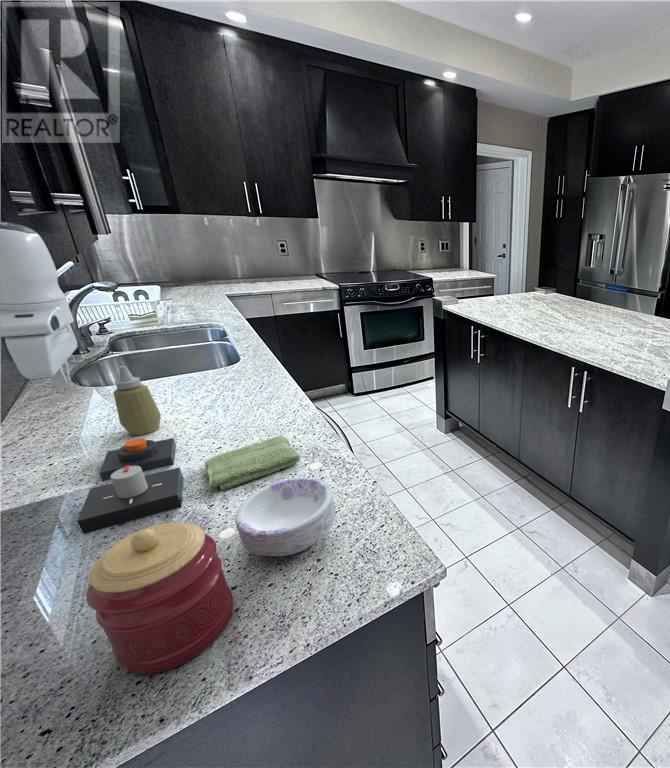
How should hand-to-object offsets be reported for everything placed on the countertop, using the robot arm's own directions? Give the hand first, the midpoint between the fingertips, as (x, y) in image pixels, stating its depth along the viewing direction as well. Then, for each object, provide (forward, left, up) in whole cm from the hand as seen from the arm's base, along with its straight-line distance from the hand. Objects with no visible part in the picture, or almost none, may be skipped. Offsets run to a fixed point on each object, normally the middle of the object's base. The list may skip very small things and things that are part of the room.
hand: (63, 384), depth 80 cm
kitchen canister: (+16, -53, -22) cm, 59 cm away
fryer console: (+8, -16, -22) cm, 28 cm away
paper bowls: (+32, -42, -22) cm, 57 cm away
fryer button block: (+7, +2, -22) cm, 23 cm away
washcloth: (+28, -13, -22) cm, 38 cm away
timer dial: (+8, -16, -19) cm, 26 cm away
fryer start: (+7, +2, -18) cm, 19 cm away
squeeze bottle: (+6, +20, -22) cm, 30 cm away
